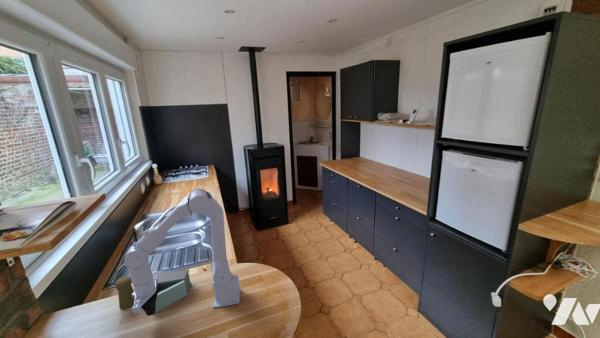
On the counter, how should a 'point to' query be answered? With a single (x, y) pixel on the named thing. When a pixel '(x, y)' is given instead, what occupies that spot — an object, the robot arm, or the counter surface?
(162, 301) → the sage green bent plank
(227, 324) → the counter surface
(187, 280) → the cupboard
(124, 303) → the cork
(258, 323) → the counter surface
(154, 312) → the robot arm
